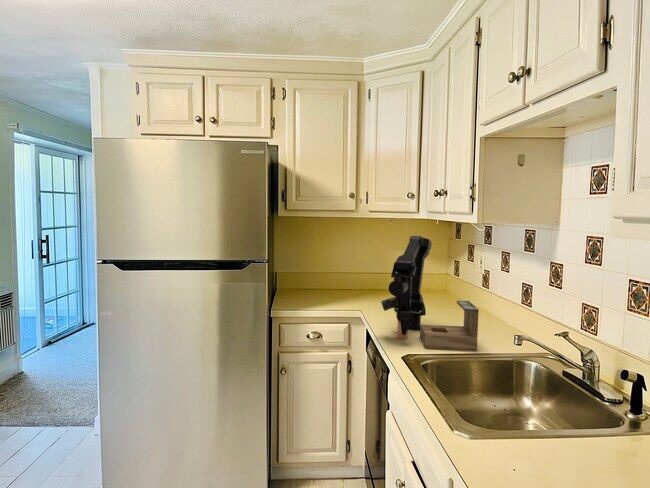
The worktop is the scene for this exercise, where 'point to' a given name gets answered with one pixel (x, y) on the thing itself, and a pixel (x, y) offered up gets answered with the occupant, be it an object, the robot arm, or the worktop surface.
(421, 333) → the socket station
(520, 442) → the worktop surface
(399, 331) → the peg
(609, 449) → the worktop surface
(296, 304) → the worktop surface
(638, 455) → the worktop surface
